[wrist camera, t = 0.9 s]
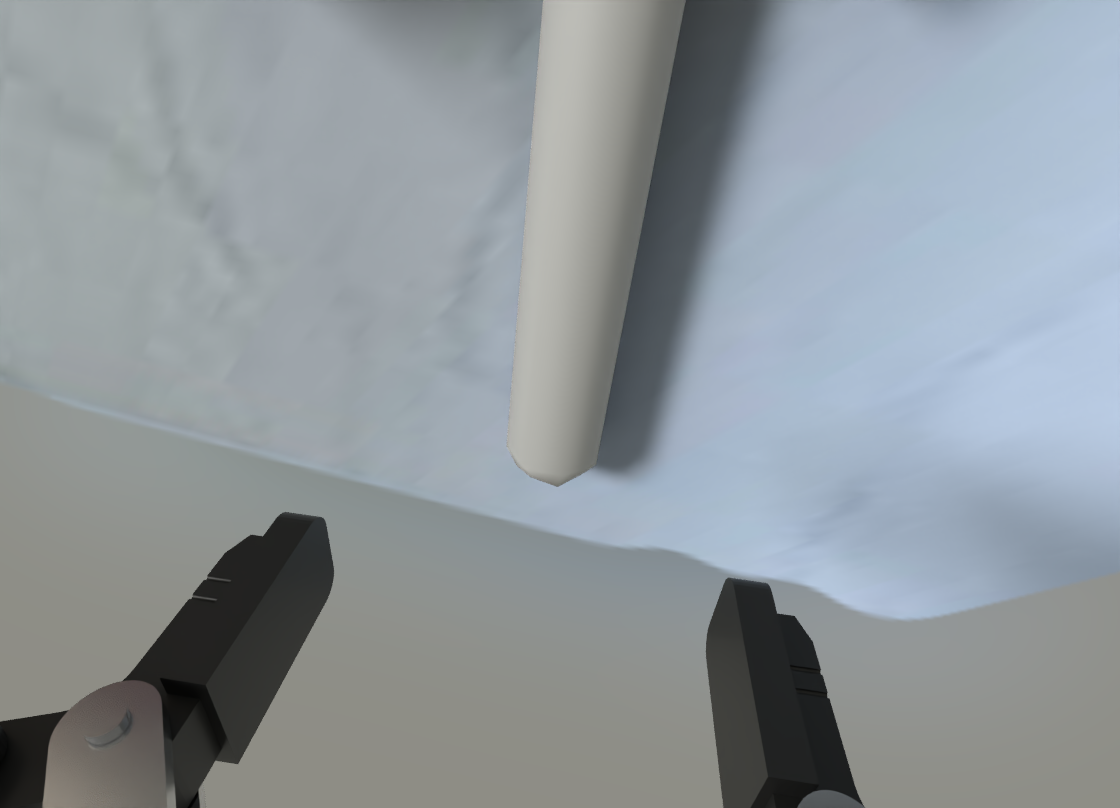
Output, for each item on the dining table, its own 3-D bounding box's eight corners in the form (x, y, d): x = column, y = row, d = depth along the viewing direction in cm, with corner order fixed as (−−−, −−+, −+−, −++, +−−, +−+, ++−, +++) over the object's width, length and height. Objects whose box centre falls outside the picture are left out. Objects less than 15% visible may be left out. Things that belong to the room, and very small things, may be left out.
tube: (611, 501, 30) (760, -173, 16) (506, 508, 29) (571, -216, 15) (585, 437, 34) (686, -138, 20) (493, 441, 33) (534, -170, 19)
